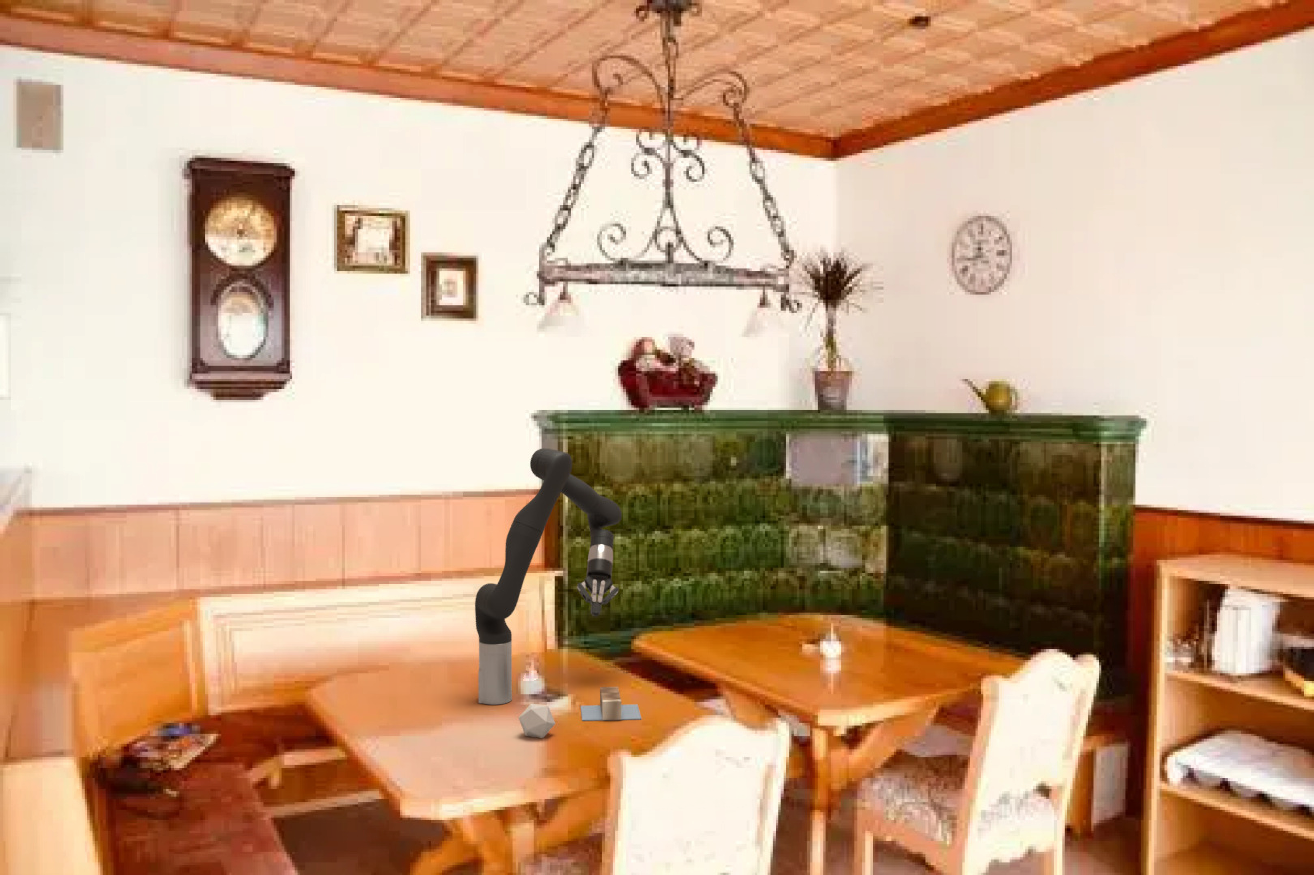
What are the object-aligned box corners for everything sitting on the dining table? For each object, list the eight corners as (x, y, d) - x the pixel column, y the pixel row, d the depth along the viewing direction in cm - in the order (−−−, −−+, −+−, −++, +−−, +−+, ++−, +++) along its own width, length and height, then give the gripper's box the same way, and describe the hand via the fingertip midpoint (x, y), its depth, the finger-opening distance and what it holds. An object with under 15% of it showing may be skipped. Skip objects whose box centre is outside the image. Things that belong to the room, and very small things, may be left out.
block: (600, 704, 320) (602, 719, 306) (600, 687, 320) (602, 701, 306) (617, 704, 320) (621, 719, 307) (617, 686, 320) (621, 701, 306)
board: (582, 721, 306) (582, 719, 306) (580, 706, 319) (580, 705, 319) (641, 719, 308) (641, 718, 308) (637, 705, 320) (637, 704, 320)
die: (560, 735, 296) (548, 701, 300) (555, 728, 288) (543, 693, 292) (530, 747, 295) (519, 713, 299) (524, 741, 287) (513, 705, 292)
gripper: (579, 554, 342) (574, 608, 332) (623, 560, 343) (619, 613, 334) (577, 565, 348) (571, 618, 339) (620, 570, 349) (615, 623, 340)
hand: (595, 615), depth 336 cm, fingers closed
